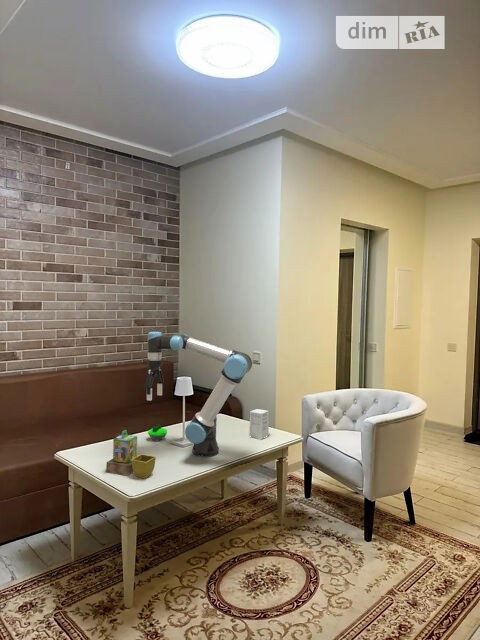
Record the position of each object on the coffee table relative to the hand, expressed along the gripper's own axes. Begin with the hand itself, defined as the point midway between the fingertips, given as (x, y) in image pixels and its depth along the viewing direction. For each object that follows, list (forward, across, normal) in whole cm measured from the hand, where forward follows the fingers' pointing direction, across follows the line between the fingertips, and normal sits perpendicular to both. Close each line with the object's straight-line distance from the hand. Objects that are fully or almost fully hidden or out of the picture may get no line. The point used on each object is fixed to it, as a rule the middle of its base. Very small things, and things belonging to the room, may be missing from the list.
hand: (154, 397), depth 246 cm
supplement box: (+34, -52, +49) cm, 79 cm away
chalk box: (+27, +24, -5) cm, 37 cm away
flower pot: (+33, +29, +7) cm, 44 cm away
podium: (+32, +24, -6) cm, 40 cm away
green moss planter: (+32, -25, -10) cm, 42 cm away
